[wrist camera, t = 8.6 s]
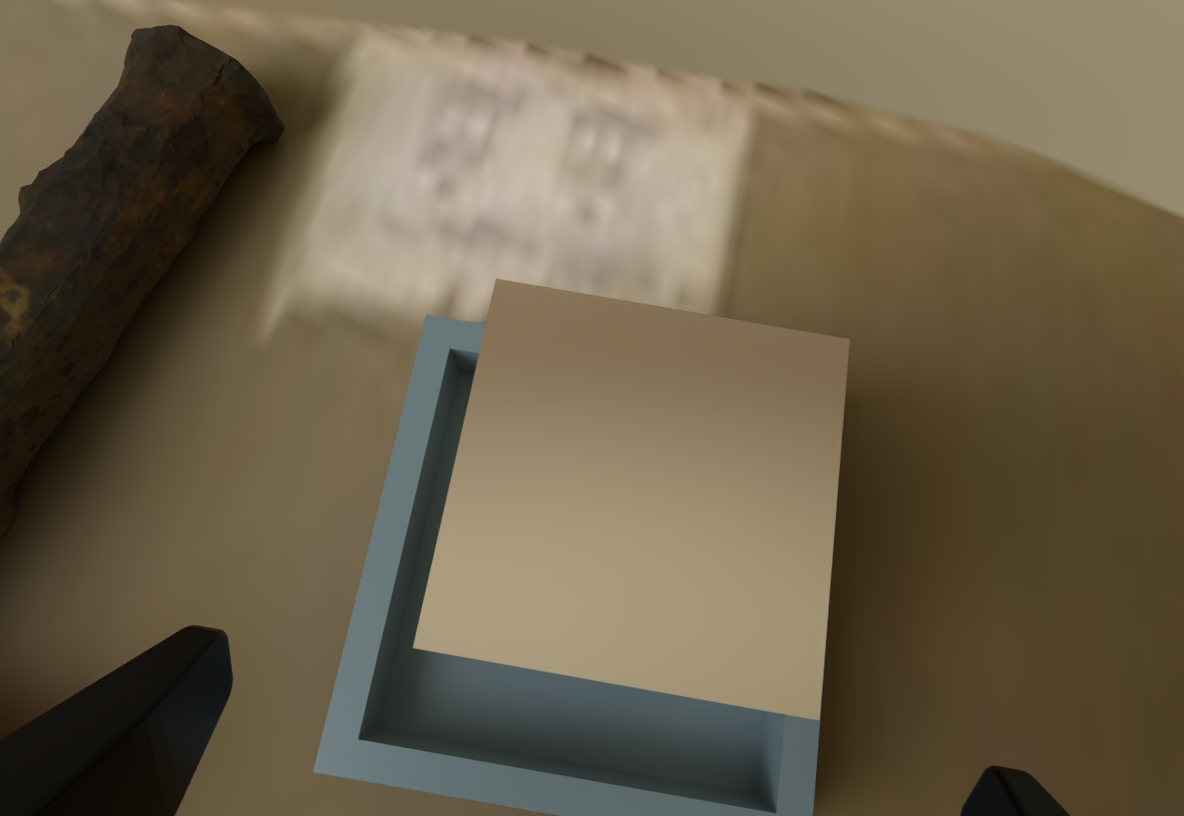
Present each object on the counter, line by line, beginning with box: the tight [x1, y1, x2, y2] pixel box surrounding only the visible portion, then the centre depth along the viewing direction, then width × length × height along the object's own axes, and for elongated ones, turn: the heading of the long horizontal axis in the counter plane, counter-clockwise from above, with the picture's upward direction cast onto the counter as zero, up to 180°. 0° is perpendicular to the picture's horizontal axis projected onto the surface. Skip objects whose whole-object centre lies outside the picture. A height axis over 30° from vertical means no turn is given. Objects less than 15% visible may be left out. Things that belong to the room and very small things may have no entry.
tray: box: [313, 315, 837, 816], centre depth 19 cm, size 11×11×2 cm
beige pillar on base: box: [413, 279, 850, 720], centre depth 14 cm, size 5×5×12 cm
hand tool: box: [0, 25, 285, 537], centre depth 20 cm, size 19×4×5 cm, turn 154°
